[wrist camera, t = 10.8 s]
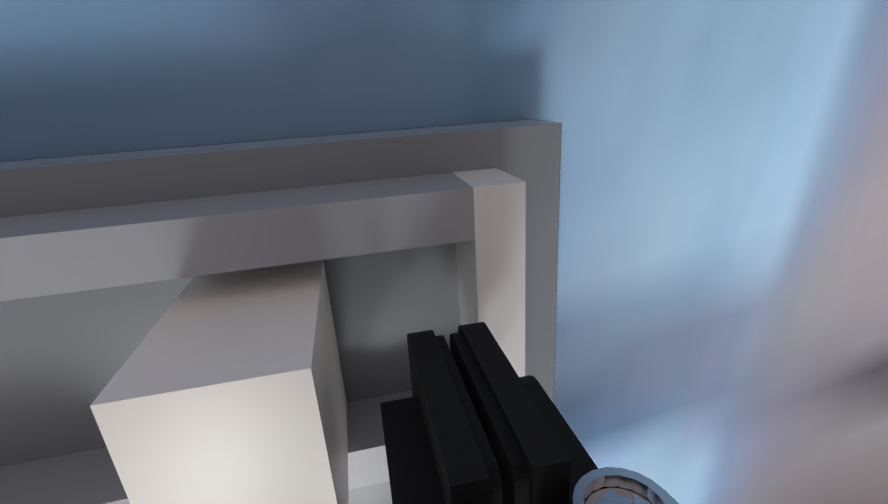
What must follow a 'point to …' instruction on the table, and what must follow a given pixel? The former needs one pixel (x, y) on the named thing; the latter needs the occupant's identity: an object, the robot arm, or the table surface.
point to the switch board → (264, 245)
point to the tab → (234, 396)
